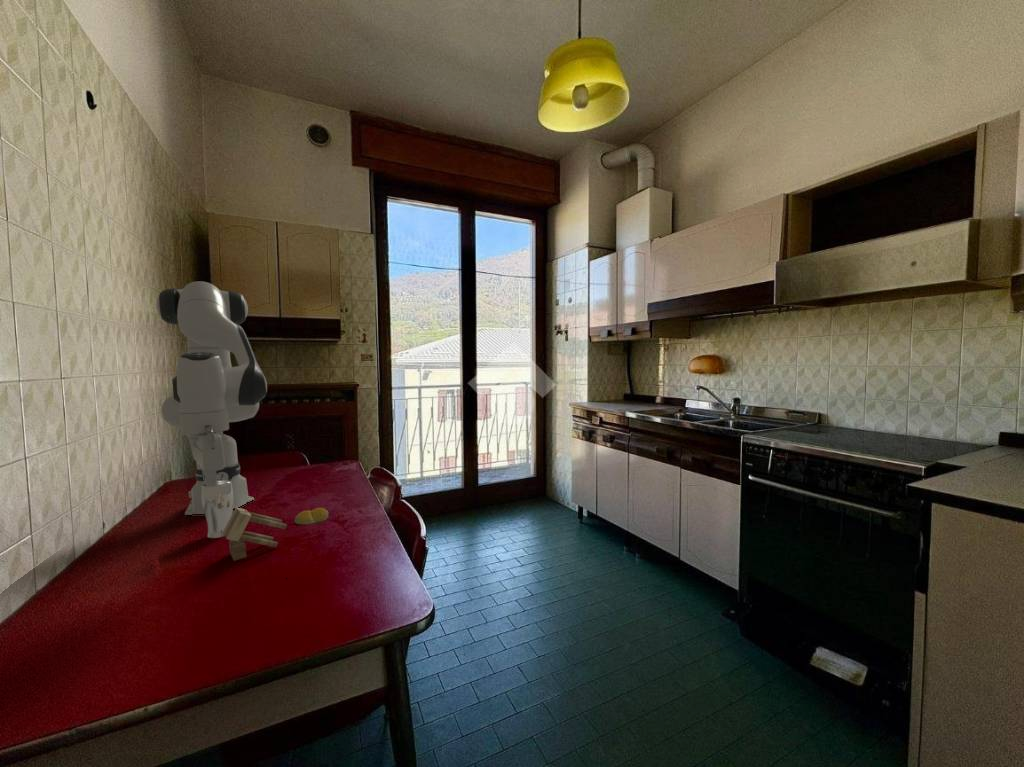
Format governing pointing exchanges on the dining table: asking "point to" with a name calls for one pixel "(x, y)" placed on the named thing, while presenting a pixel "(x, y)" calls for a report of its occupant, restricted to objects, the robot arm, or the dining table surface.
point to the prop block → (237, 549)
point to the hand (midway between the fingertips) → (210, 484)
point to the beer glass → (217, 506)
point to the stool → (240, 521)
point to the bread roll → (311, 516)
